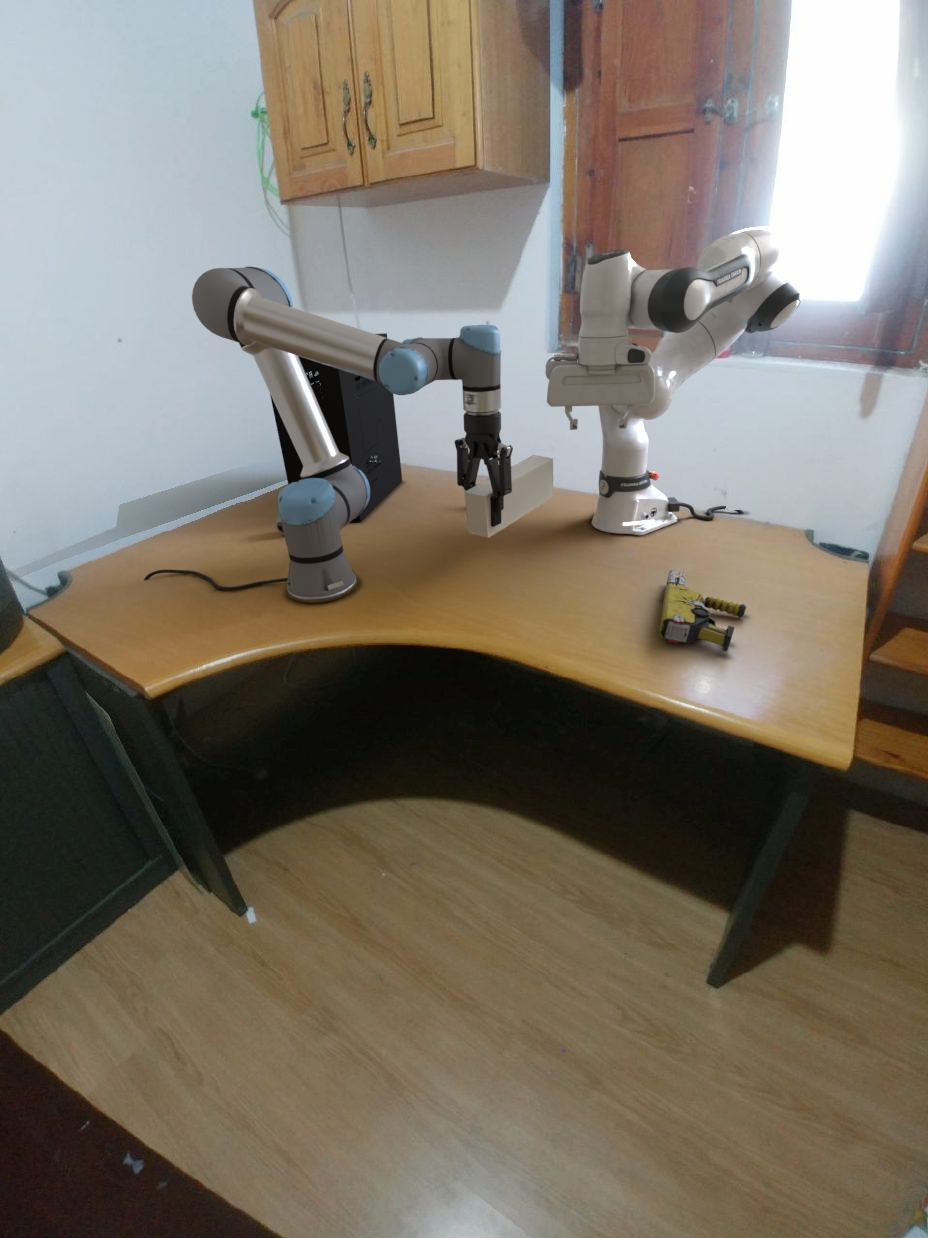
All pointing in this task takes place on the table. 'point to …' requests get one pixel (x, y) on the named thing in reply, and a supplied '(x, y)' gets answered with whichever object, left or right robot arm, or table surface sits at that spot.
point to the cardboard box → (352, 428)
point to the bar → (511, 496)
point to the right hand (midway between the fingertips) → (597, 428)
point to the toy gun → (693, 614)
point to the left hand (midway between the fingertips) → (484, 521)
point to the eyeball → (279, 524)
